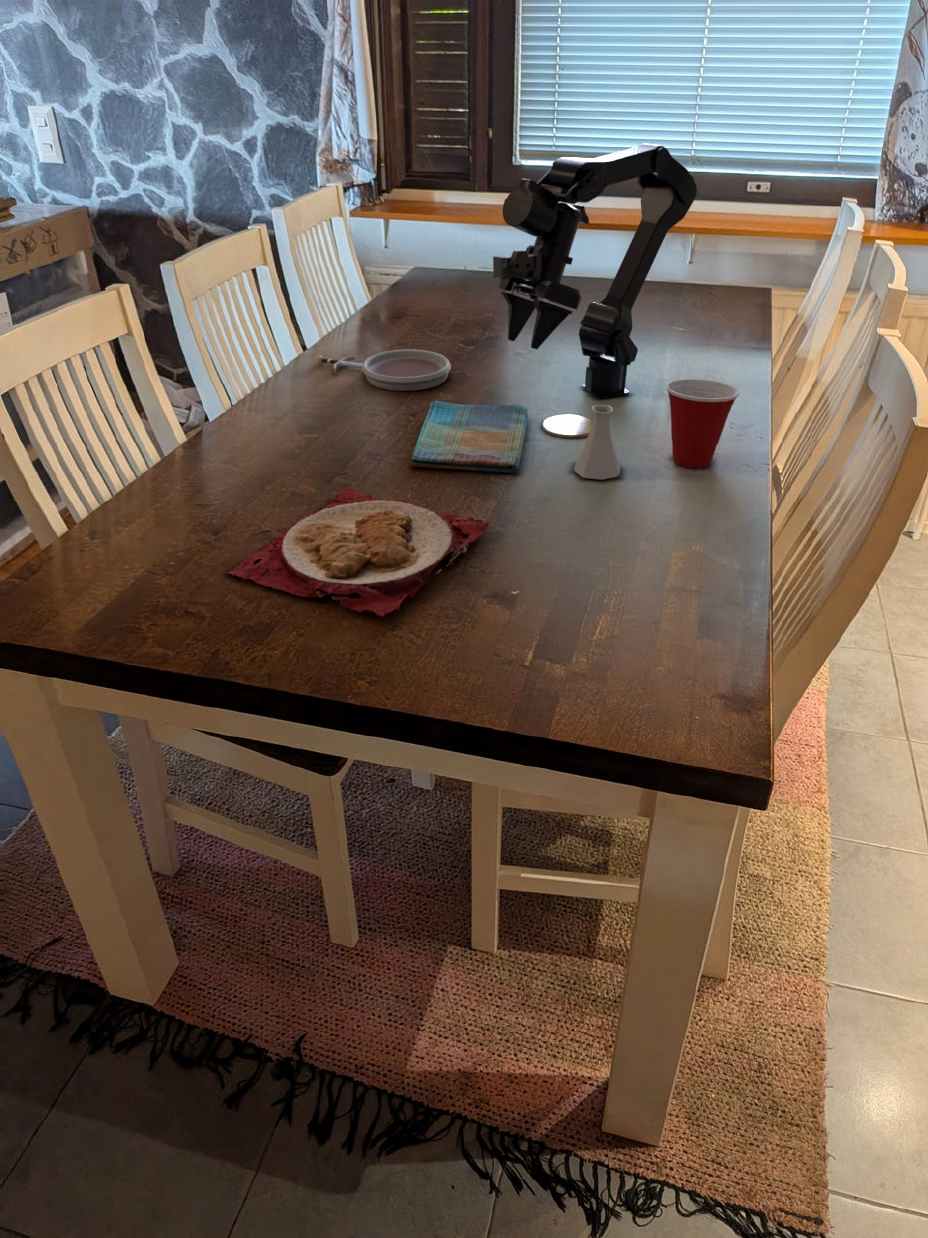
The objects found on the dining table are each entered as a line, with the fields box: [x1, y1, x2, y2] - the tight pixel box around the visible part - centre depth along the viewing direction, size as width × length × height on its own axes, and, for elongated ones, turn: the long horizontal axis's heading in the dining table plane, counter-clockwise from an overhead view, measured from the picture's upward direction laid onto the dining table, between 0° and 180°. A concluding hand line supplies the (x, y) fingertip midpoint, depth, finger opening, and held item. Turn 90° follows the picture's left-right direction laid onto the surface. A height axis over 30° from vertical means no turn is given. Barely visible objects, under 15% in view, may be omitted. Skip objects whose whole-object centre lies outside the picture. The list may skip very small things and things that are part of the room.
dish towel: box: [410, 400, 529, 474], centre depth 147 cm, size 17×23×2 cm
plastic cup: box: [665, 378, 741, 469], centre depth 139 cm, size 11×11×12 cm
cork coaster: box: [542, 414, 593, 439], centre depth 153 cm, size 9×9×1 cm
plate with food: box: [226, 488, 490, 618], centre depth 117 cm, size 24×26×3 cm
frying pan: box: [315, 348, 452, 392], centre depth 175 cm, size 17×3×28 cm
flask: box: [573, 404, 621, 481], centre depth 136 cm, size 7×7×10 cm
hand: (522, 344), depth 147 cm, fingers open, 9 cm apart
